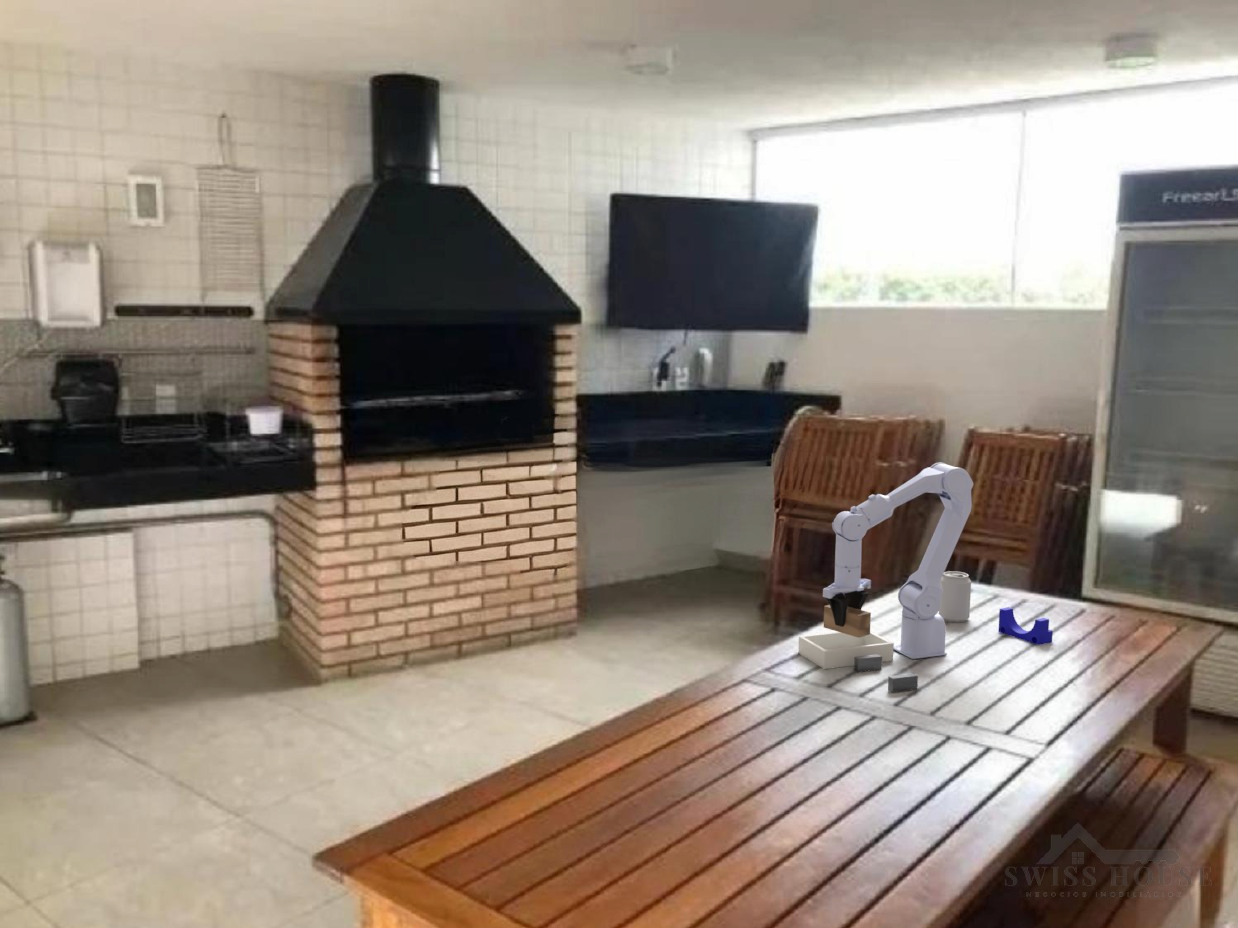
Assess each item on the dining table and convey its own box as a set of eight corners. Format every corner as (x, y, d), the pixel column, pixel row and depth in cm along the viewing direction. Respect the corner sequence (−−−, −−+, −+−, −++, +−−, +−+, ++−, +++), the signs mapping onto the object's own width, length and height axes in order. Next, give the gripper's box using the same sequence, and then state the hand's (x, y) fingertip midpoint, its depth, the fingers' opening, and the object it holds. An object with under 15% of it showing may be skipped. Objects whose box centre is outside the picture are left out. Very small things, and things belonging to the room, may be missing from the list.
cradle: (877, 666, 231) (878, 653, 231) (917, 689, 217) (917, 675, 217) (853, 669, 229) (854, 656, 229) (892, 692, 216) (892, 678, 215)
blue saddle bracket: (1051, 642, 249) (1053, 618, 248) (1039, 645, 247) (1040, 621, 246) (1011, 629, 259) (1012, 606, 259) (998, 632, 257) (999, 608, 256)
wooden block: (834, 624, 243) (835, 603, 242) (869, 634, 235) (870, 612, 234) (823, 627, 240) (824, 606, 239) (858, 637, 232) (859, 615, 232)
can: (973, 623, 264) (975, 577, 262) (943, 623, 264) (945, 576, 263) (964, 614, 271) (966, 569, 270) (935, 614, 272) (937, 569, 270)
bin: (864, 645, 247) (865, 628, 246) (893, 660, 236) (893, 643, 235) (798, 652, 241) (798, 636, 240) (824, 668, 230) (824, 651, 230)
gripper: (841, 573, 228) (839, 633, 230) (882, 563, 237) (880, 621, 239) (816, 567, 233) (814, 626, 235) (857, 558, 242) (855, 614, 244)
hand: (846, 623), depth 237 cm, fingers closed on wooden block, 4 cm apart
